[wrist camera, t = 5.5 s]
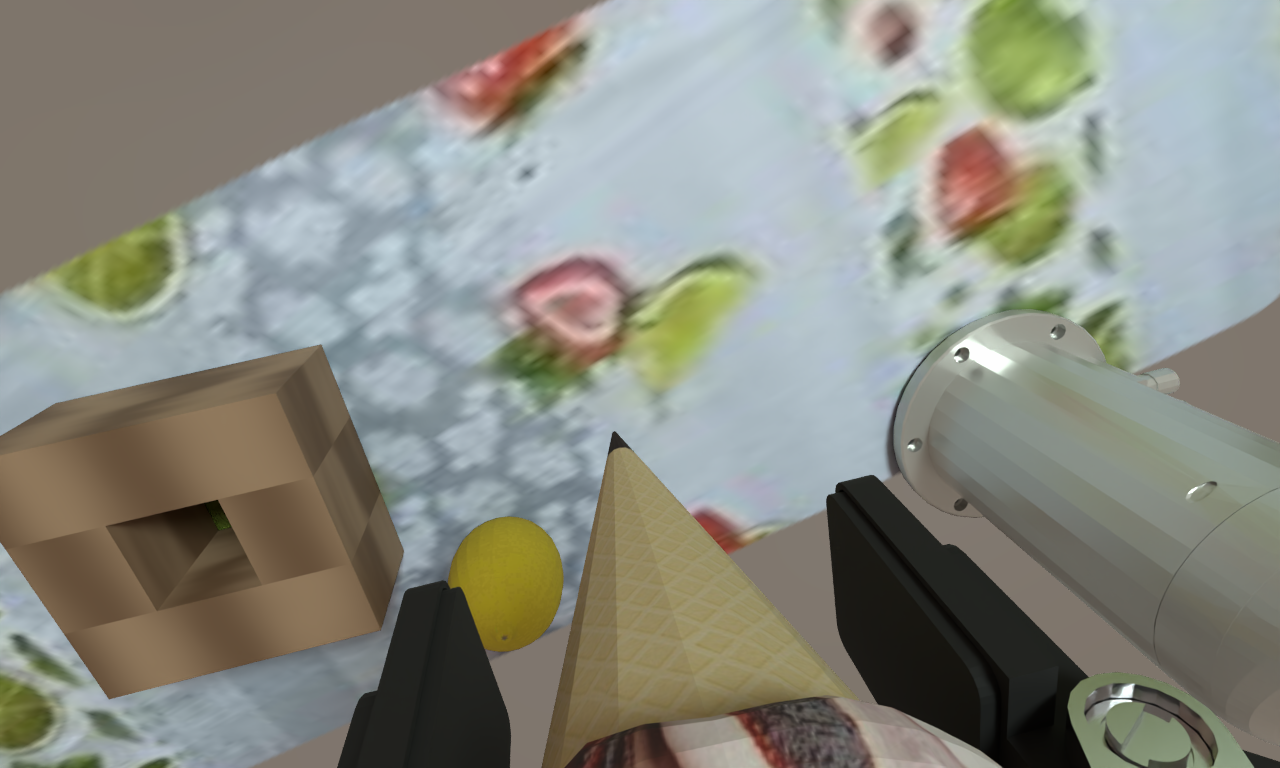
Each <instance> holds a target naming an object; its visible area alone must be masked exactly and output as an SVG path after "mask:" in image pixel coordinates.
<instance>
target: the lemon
mask: <svg viewBox="0 0 1280 768" xmlns="http://www.w3.org/2000/svg"><path fill="white" fill-rule="evenodd" d="M563 577H564V576H563V569H562V563H561V558H560V554H559V552H558V550H557V548H556V546H555V544H554V542H553V540H552V538H551V537H550V536H549V535H548V534H547V533H546V532H545V531H544V530H543V529H542V528H541V527H539V526H538V525H536V524H535V523H533V522H531V521H529V520H526V519H523V518H519V517H500V518H496V519H493V520H490V521H487V522H485V523H483V524H481V525H480V526H478V527H476V528H475V529H474V530H473V531H472V532H471V533H470V534H469V535H468V536H467V537H466V538H465V539H464V540H463V541H462V543H461V545H460V546H459V548H458V550H457V552H456V554H455V556H454V558H453V561H452V564H451V569H450V573H449V577H448V585H449V587H450V589H451V588H455V587H461V589H462V590H463V592H464V594H465V597H466V600H467V603H468V605H469V608H470V611H471V614H472V616H473V619H474V622H475V625H476V627H477V630H478V633H479V635H480V638H481V641H482V644H483V646H484V648H485V649H487V650H491V651H498V652H503V651H512V650H517V649H520V648H522V647H524V646H527V645H529V644H531V643H532V642H534V641H535V640H536V639H538V638H539V637H540V636H541V635H542V634H543V633H544V632H545V631H546V629H547V628H548V627H549V626H550V624H551V623H552V621H553V619H554V616H555V614H556V612H557V610H558V607H559V604H560V601H561V595H562V589H563Z"/></svg>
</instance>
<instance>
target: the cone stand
mask: <svg viewBox="0 0 1280 768" xmlns="http://www.w3.org/2000/svg"><path fill="white" fill-rule="evenodd" d="M214 500H218V501H219V503H220V505H221V507H222V509H223V510H224V512H225V514H226V516H227V518H228V520H229V522H230V524H231V526H232V527H231V528H227V529H223V530H219V531H218V529H217V527H216V525H215V523H214V521H213V519H212V517H211V516H210V514H209V512H208V510H207V508H206V506H205V504H204V503H205V502H209V501H214ZM0 542H1V544H2V545H3V547H4V548H5V549H6V551H7V552H8V554H9V555H10V557H11V558H12V560H13V561H14V562H15V564H16V565H17V567H18V568H19V570H20V571H21V573H22V574H23V575H24V577H25V578H26V580H27V581H28V583H29V584H30V586H31V587H32V588H33V590H34V591H35V593H36V594H37V596H38V597H39V599H40V600H41V601H42V603H43V604H44V606H45V607H46V609H47V610H48V612H49V613H50V614H51V616H52V617H53V619H54V620H55V622H56V623H57V625H58V626H59V627H60V629H61V630H62V632H63V633H64V635H65V636H66V638H67V639H68V640H69V642H70V643H71V645H72V646H73V648H74V649H75V651H76V652H77V653H78V655H79V656H80V658H81V659H82V661H83V662H84V664H85V665H86V666H87V668H88V669H89V671H90V672H91V674H92V675H93V677H94V678H95V679H96V681H97V682H98V684H99V685H100V687H101V688H102V690H103V691H104V693H105V694H106V695H107V697H108V698H109V699H112V698H116V697H120V696H124V695H128V694H132V693H135V692H139V691H143V690H147V689H151V688H155V687H159V686H163V685H167V684H171V683H175V682H179V681H183V680H187V679H190V678H194V677H198V676H202V675H206V674H210V673H214V672H218V671H222V670H226V669H230V668H234V667H238V666H242V665H246V664H249V663H253V662H257V661H261V660H265V659H269V658H273V657H277V656H281V655H285V654H289V653H293V652H297V651H301V650H305V649H308V648H312V647H316V646H320V645H324V644H328V643H332V642H336V641H340V640H344V639H348V638H352V637H356V636H360V635H364V634H367V633H371V632H375V631H379V630H381V628H382V624H383V621H384V618H385V614H386V611H387V607H388V604H389V601H390V597H391V594H392V590H393V587H394V584H395V580H396V577H397V573H398V570H399V566H400V563H401V560H402V556H403V553H404V550H403V547H402V545H401V542H400V540H399V537H398V535H397V532H396V530H395V527H394V525H393V522H392V520H391V517H390V515H389V512H388V510H387V507H386V505H385V502H384V500H383V497H382V495H381V492H380V490H379V487H378V485H377V483H376V480H375V478H374V475H373V473H372V470H371V468H370V465H369V463H368V460H367V458H366V455H365V453H364V450H363V448H362V445H361V443H360V440H359V438H358V435H357V433H356V430H355V428H354V425H353V423H352V420H351V418H350V415H349V413H348V410H347V408H346V405H345V403H344V400H343V398H342V395H341V393H340V390H339V388H338V385H337V383H336V380H335V378H334V375H333V373H332V370H331V368H330V365H329V363H328V360H327V358H326V355H325V353H324V350H323V348H322V345H317V346H312V347H308V348H303V349H299V350H294V351H290V352H285V353H281V354H276V355H272V356H267V357H263V358H258V359H254V360H249V361H245V362H240V363H236V364H231V365H227V366H222V367H218V368H213V369H209V370H204V371H200V372H195V373H191V374H186V375H182V376H177V377H172V378H168V379H163V380H159V381H154V382H150V383H145V384H141V385H136V386H132V387H127V388H123V389H118V390H114V391H109V392H105V393H100V394H96V395H91V396H87V397H82V398H78V399H73V400H69V401H64V402H60V403H55V404H54V405H52V406H50V407H49V408H47V409H45V410H44V411H42V412H40V413H39V414H37V415H35V416H33V417H32V418H30V419H28V420H27V421H25V422H23V423H22V424H20V425H18V426H17V427H15V428H13V429H12V430H10V431H8V432H7V433H5V434H3V435H2V436H0Z"/></svg>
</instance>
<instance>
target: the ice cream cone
mask: <svg viewBox="0 0 1280 768" xmlns="http://www.w3.org/2000/svg"><path fill="white" fill-rule="evenodd" d="M542 768H1002V767H1001V766H1000V765H998V764H997V763H996V762H995V761H993V760H992V759H991V758H989V757H988V756H987V755H985V754H984V753H983V752H981V751H980V750H978V749H976V748H974V747H972V746H971V745H969V744H967V743H965V742H963V741H961V740H959V739H957V738H955V737H953V736H951V735H949V734H947V733H945V732H943V731H942V730H940V729H938V728H936V727H933V726H931V725H929V724H927V723H925V722H922V721H920V720H918V719H916V718H914V717H911V716H909V715H907V714H905V713H903V712H901V711H898V710H896V709H894V708H891V707H887V706H882V705H877V704H872V703H868V702H863V701H860V700H859V699H858V698H857V697H856V696H855V694H854V693H853V692H852V691H851V690H850V689H849V688H848V687H847V686H846V685H845V684H844V682H843V681H842V680H841V679H840V678H839V677H838V676H837V675H836V674H835V673H834V671H832V669H831V668H830V667H829V666H828V665H827V664H826V663H825V661H824V660H823V659H822V658H821V657H820V656H819V655H818V654H817V653H816V652H815V650H814V649H812V647H811V646H810V645H809V644H808V643H807V642H806V641H805V639H804V638H803V637H802V636H801V635H800V634H799V633H798V632H797V631H796V630H795V629H794V627H793V626H792V625H791V624H790V623H789V622H788V621H787V620H786V619H785V618H784V616H783V615H782V614H781V613H780V612H779V611H778V610H777V609H776V608H775V607H774V605H773V604H772V603H771V602H770V601H769V600H768V599H767V598H766V597H765V596H764V594H763V593H762V592H761V591H760V590H759V589H758V588H757V587H756V586H755V585H754V583H753V582H752V581H751V580H750V579H749V578H748V577H747V576H746V575H745V574H744V572H743V571H742V570H741V569H740V568H739V567H738V566H737V565H736V564H735V563H734V561H733V560H732V559H731V558H730V557H729V556H728V555H727V554H726V553H725V552H724V550H723V549H722V548H721V547H720V546H719V545H718V544H717V543H716V542H715V541H714V539H713V538H712V537H711V536H710V535H709V534H708V533H707V532H706V531H705V530H704V528H703V527H702V526H701V525H700V524H699V523H698V522H697V521H696V520H695V519H694V517H693V516H692V515H691V514H690V513H689V512H688V511H687V510H686V509H685V508H684V506H683V505H682V504H681V503H680V502H679V501H678V500H677V499H676V498H675V497H674V495H673V494H672V493H671V492H670V491H669V490H668V489H667V488H666V487H665V486H664V484H663V483H662V482H661V481H660V480H659V479H658V478H657V477H656V476H655V475H654V473H653V472H652V471H651V470H650V469H649V468H648V467H647V466H646V465H645V464H644V462H643V461H642V460H641V459H640V458H639V457H638V456H637V455H636V454H635V453H634V451H633V450H632V449H631V448H630V447H629V446H628V445H627V444H626V443H625V442H624V440H623V439H622V438H621V437H620V436H619V435H618V434H617V433H616V432H615V431H614V432H613V433H612V437H611V442H610V447H609V451H608V456H607V461H606V466H605V470H604V475H603V480H602V484H601V489H600V494H599V499H598V503H597V508H596V513H595V517H594V522H593V527H592V532H591V536H590V541H589V546H588V551H587V555H586V560H585V565H584V569H583V574H582V579H581V584H580V588H579V593H578V598H577V602H576V607H575V612H574V617H573V621H572V626H571V631H570V635H569V640H568V645H567V650H566V655H565V659H564V664H563V669H562V673H561V678H560V683H559V688H558V692H557V697H556V702H555V706H554V711H553V716H552V721H551V725H550V730H549V735H548V739H547V744H546V749H545V753H544V759H543V763H542Z"/></svg>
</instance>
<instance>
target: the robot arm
mask: <svg viewBox="0 0 1280 768" xmlns="http://www.w3.org/2000/svg"><path fill="white" fill-rule="evenodd" d="M1179 386H1180V383H1179V378H1178V376H1177V374H1176V373H1175V372H1174V371H1172V370H1171V369H1167V368H1163V369H1159V370H1155V371H1151V372H1147V373H1143V374H1141V375H1139V376H1136V375H1133V374H1131V373H1129V372H1126V371H1124V370H1121V369H1119V368H1117V367H1114V366H1112V365H1109V364H1107V363H1106V360H1105V356H1104V354H1103V353H1102V351H1101V349H1100V347H1099V345H1098V344H1097V342H1096V340H1095V339H1094V338H1093V337H1092V336H1091V335H1090V334H1089V333H1088V332H1087V331H1086V330H1085V329H1084V328H1082V327H1081V326H1079V325H1077V324H1076V323H1074V322H1072V321H1071V320H1069V319H1066V318H1064V317H1061V316H1058V315H1055V314H1053V313H1050V312H1045V311H1039V310H1033V309H1019V310H1008V311H1004V312H999V313H995V314H991V315H988V316H986V317H983V318H981V319H979V320H976V321H974V322H972V323H969V324H968V325H966V326H965V327H963V328H961V329H960V330H958V331H957V332H955V333H954V334H952V335H950V336H949V337H948V338H947V339H946V340H945V341H943V342H942V343H941V344H940V345H939V346H938V347H937V348H935V349H934V350H933V351H932V352H931V353H930V355H929V356H928V357H927V358H926V359H925V360H924V362H923V363H922V364H921V365H920V366H919V368H918V369H917V370H916V372H915V374H914V375H913V377H912V379H911V380H910V382H909V384H908V385H907V387H906V389H905V391H904V394H903V396H902V399H901V401H900V404H899V406H898V410H897V414H896V419H895V424H894V450H895V455H896V460H897V464H898V466H899V468H900V471H901V473H902V475H903V477H904V479H905V480H906V481H907V482H908V484H909V485H910V486H911V487H912V489H913V490H914V491H915V492H916V493H917V494H919V495H920V496H921V497H922V498H923V499H924V500H925V501H926V502H927V503H929V504H930V505H932V506H934V507H935V508H937V509H939V510H941V511H943V512H946V513H949V514H952V515H956V516H963V517H973V518H977V517H986V518H987V519H988V520H989V521H990V522H991V523H992V524H994V525H995V526H996V527H997V528H998V529H999V530H1001V531H1002V532H1003V533H1004V534H1005V535H1006V536H1007V537H1009V538H1010V539H1011V540H1012V541H1013V542H1014V543H1016V544H1017V545H1018V546H1019V547H1020V548H1021V549H1022V550H1024V551H1025V552H1026V553H1027V554H1028V555H1029V556H1030V557H1032V558H1033V559H1034V560H1035V561H1036V562H1037V563H1039V564H1040V565H1041V566H1042V567H1043V568H1045V570H1047V571H1048V572H1049V573H1050V574H1051V575H1052V576H1054V577H1055V578H1056V579H1057V580H1058V581H1059V582H1060V583H1062V584H1063V585H1064V586H1065V587H1066V588H1067V589H1068V590H1070V591H1071V592H1072V593H1073V594H1074V595H1075V596H1076V597H1078V598H1079V599H1080V600H1081V601H1082V602H1083V603H1085V604H1086V605H1087V606H1088V607H1089V608H1090V609H1091V610H1093V611H1094V612H1095V613H1096V614H1097V615H1098V616H1099V617H1101V618H1102V619H1103V620H1104V621H1105V622H1106V623H1108V624H1109V625H1110V626H1111V627H1112V628H1113V629H1114V630H1116V631H1117V632H1118V633H1119V634H1120V635H1122V636H1123V637H1124V638H1125V639H1126V640H1127V641H1128V642H1130V643H1131V644H1132V645H1133V646H1134V647H1135V648H1136V649H1138V650H1139V651H1140V652H1141V653H1142V654H1143V655H1144V656H1145V657H1147V658H1148V659H1149V660H1150V661H1151V662H1152V663H1154V664H1155V665H1156V666H1157V667H1158V668H1159V669H1161V670H1162V671H1163V672H1164V673H1165V674H1166V675H1167V676H1168V677H1170V678H1171V679H1173V680H1174V681H1175V682H1176V683H1177V684H1178V685H1180V686H1181V687H1182V688H1183V689H1184V690H1185V691H1187V692H1188V693H1189V694H1190V695H1189V694H1187V693H1185V692H1183V691H1181V690H1179V689H1177V688H1175V687H1173V686H1172V685H1170V684H1167V683H1165V682H1162V681H1159V680H1155V679H1152V678H1149V677H1146V676H1142V675H1137V674H1129V673H1121V672H1113V673H1103V674H1096V675H1094V676H1091V677H1088V676H1087V675H1086V674H1085V673H1084V672H1083V671H1082V670H1081V669H1080V668H1079V667H1078V666H1077V665H1076V664H1075V663H1074V662H1073V661H1072V660H1071V659H1070V658H1069V657H1068V656H1067V655H1066V654H1065V653H1064V652H1063V651H1062V650H1061V649H1060V648H1059V647H1058V646H1057V645H1056V644H1055V643H1054V642H1053V641H1052V640H1051V639H1050V638H1049V637H1048V636H1047V635H1046V634H1045V633H1044V632H1043V631H1042V630H1041V629H1040V628H1039V627H1038V626H1037V625H1036V624H1035V623H1034V622H1033V621H1032V620H1031V619H1030V618H1029V617H1028V616H1027V615H1026V614H1025V613H1024V612H1023V611H1022V610H1021V609H1020V608H1019V607H1018V606H1017V605H1016V604H1015V603H1014V602H1013V601H1012V600H1011V599H1010V598H1009V597H1008V596H1007V595H1006V594H1005V593H1004V592H1003V591H1002V590H1001V589H1000V588H999V587H998V586H997V585H996V584H995V583H994V582H993V581H992V580H991V579H990V578H989V577H988V576H987V575H986V574H985V573H984V572H983V571H982V570H981V569H980V568H979V567H978V566H977V565H976V564H975V563H974V562H973V561H972V560H971V559H970V558H969V557H968V556H967V555H966V554H965V553H964V552H963V551H962V550H960V549H959V548H958V547H957V546H954V545H950V544H947V545H942V544H941V543H940V542H939V541H938V540H937V539H936V538H935V537H934V536H933V535H932V534H931V533H930V532H929V531H928V530H927V529H926V528H925V527H924V526H923V525H922V524H921V523H920V522H919V520H917V519H916V518H915V516H914V515H913V514H912V513H911V512H910V511H909V510H908V509H907V508H906V507H905V506H904V505H903V504H902V503H901V502H900V501H899V500H898V499H897V498H896V497H895V496H894V495H893V494H892V493H891V492H890V490H888V489H887V487H886V486H885V485H884V484H883V483H882V482H881V481H880V480H879V479H878V478H877V477H875V476H874V475H869V476H864V477H860V478H856V479H852V480H848V481H844V482H840V483H838V484H837V485H836V489H835V492H836V493H834V494H830V495H828V496H827V499H826V505H827V515H828V527H829V539H830V550H831V561H832V572H833V584H834V595H835V607H836V618H837V626H838V631H839V635H840V638H841V641H842V643H843V645H844V647H845V649H846V651H847V653H848V654H849V656H850V658H851V659H852V661H853V663H854V665H855V666H856V668H857V669H858V671H859V673H860V675H861V677H862V678H863V680H864V681H865V683H866V685H867V687H868V688H869V690H870V692H871V693H872V695H873V697H874V698H875V700H876V702H877V703H878V705H882V706H887V707H891V708H894V709H896V710H898V711H901V712H903V713H905V714H907V715H909V716H911V717H914V718H916V719H918V720H920V721H922V722H925V723H927V724H929V725H931V726H933V727H936V728H938V729H940V730H942V731H943V732H945V733H947V734H949V735H951V736H953V737H955V738H957V739H959V740H961V741H963V742H965V743H967V744H969V745H971V746H972V747H974V748H976V749H978V750H980V751H981V752H983V753H984V754H985V755H987V756H988V757H989V758H991V759H992V760H993V761H995V762H996V763H997V764H998V765H1000V766H1001V767H1002V768H1280V762H1278V761H1275V760H1272V759H1269V758H1266V757H1263V756H1260V755H1257V754H1254V753H1250V752H1247V751H1244V750H1242V749H1241V747H1240V746H1239V744H1238V743H1237V742H1236V740H1235V739H1234V737H1233V736H1232V734H1231V733H1230V731H1229V730H1228V729H1227V728H1226V726H1224V724H1223V723H1222V722H1221V721H1220V720H1219V718H1218V717H1220V718H1221V719H1223V720H1224V721H1226V722H1228V723H1229V724H1231V725H1232V726H1234V727H1236V728H1238V729H1240V730H1241V731H1243V732H1246V733H1248V734H1250V735H1252V736H1254V737H1256V738H1258V739H1260V740H1262V741H1264V742H1267V743H1270V744H1273V745H1276V746H1279V747H1280V443H1278V442H1275V441H1273V440H1271V439H1268V438H1266V437H1264V436H1261V435H1259V434H1257V433H1254V432H1252V431H1250V430H1248V429H1245V428H1243V427H1241V426H1238V425H1236V424H1233V423H1231V422H1229V421H1226V420H1224V419H1222V418H1220V417H1217V416H1215V415H1213V414H1210V413H1208V412H1206V411H1203V410H1201V409H1199V408H1196V407H1194V406H1192V405H1190V404H1188V403H1187V402H1185V401H1182V400H1177V399H1175V398H1173V397H1170V396H1168V395H1166V394H1169V393H1173V392H1175V391H1177V390H1178V387H1179ZM1217 716H1218V717H1217ZM510 746H511V731H510V723H509V717H508V713H507V709H506V707H505V704H504V701H503V699H502V696H501V693H500V691H499V688H498V685H497V682H496V679H495V677H494V674H493V671H492V669H491V666H490V663H489V660H488V657H487V655H486V652H485V649H484V646H483V644H482V641H481V638H480V635H479V633H478V630H477V627H476V625H475V622H474V619H473V616H472V614H471V611H470V608H469V605H468V603H467V600H466V597H465V594H464V592H463V590H462V589H461V587H455V588H451V589H450V587H449V585H448V583H447V582H446V581H444V580H443V581H439V582H435V583H430V584H426V585H422V586H418V587H414V588H410V589H408V590H406V591H405V594H404V596H403V600H402V603H401V607H400V611H399V614H398V618H397V621H396V625H395V629H394V632H393V636H392V640H391V643H390V647H389V650H388V654H387V658H386V661H385V665H384V668H383V672H382V676H381V679H380V683H379V687H378V690H377V691H373V692H369V693H365V694H364V695H363V696H362V697H361V698H360V699H359V701H358V704H357V706H356V708H355V711H354V714H353V718H352V721H351V724H350V728H349V731H348V734H347V737H346V740H345V744H344V747H343V750H342V754H341V757H340V760H339V763H338V767H337V768H510Z"/></svg>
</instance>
